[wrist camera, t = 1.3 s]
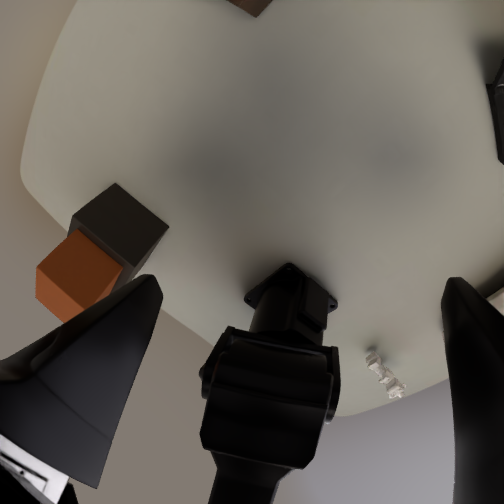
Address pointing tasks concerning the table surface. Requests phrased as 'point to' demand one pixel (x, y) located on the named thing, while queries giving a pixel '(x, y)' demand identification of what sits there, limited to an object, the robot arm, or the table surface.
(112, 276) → the toy cube
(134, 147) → the table surface
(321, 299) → the robot arm
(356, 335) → the table surface
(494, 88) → the handheld gaming console
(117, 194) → the block
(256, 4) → the base block
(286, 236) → the table surface
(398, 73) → the table surface
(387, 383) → the figurine
